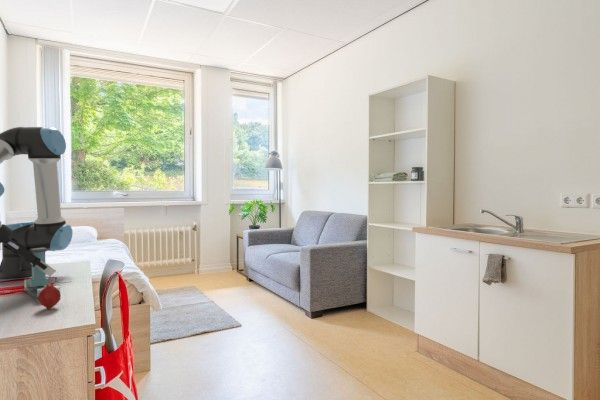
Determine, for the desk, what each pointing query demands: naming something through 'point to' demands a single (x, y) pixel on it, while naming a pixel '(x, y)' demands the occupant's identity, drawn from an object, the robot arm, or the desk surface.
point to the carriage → (37, 274)
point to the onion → (49, 296)
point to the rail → (35, 289)
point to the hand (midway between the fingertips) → (50, 272)
